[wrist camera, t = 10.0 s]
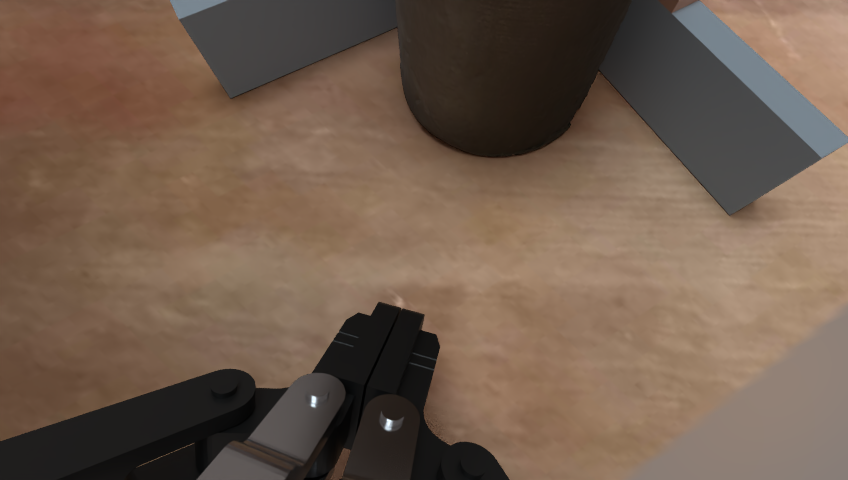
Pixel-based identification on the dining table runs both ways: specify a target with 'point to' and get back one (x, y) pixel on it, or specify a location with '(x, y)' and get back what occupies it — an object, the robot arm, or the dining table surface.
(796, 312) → the dining table surface
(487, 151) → the pillar candle
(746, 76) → the corner arena
